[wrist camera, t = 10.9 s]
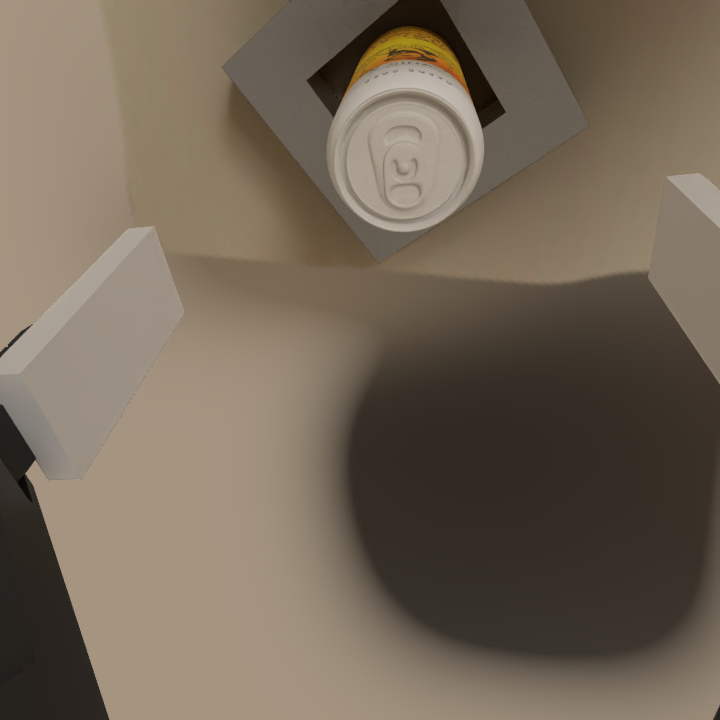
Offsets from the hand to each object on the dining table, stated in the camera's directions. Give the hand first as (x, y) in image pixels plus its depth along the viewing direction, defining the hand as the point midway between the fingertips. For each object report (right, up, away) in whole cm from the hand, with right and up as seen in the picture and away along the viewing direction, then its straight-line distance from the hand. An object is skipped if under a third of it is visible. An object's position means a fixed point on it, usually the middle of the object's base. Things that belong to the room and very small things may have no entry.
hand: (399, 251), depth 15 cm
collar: (+2, +13, +18) cm, 23 cm away
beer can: (+2, +13, +18) cm, 23 cm away
